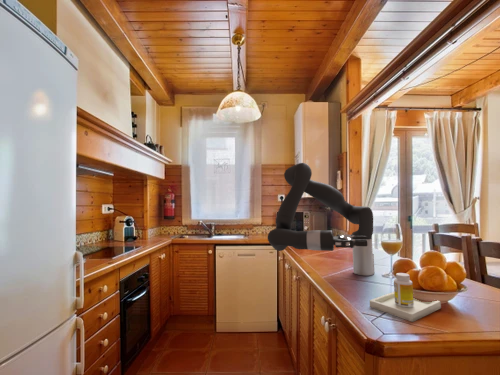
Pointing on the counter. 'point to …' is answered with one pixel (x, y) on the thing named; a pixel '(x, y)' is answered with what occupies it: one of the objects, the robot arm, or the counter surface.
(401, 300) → the supplement bottle
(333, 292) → the counter surface
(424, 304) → the tray
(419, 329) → the counter surface
